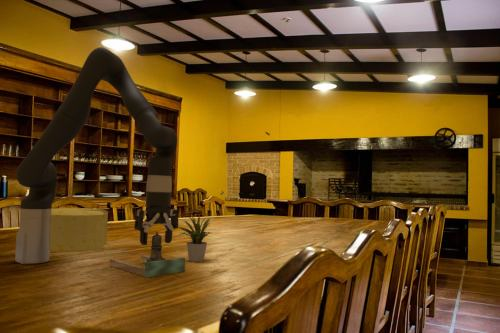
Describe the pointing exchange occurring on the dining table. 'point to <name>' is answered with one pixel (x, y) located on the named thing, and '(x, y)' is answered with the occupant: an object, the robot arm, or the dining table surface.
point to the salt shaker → (156, 249)
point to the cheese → (78, 229)
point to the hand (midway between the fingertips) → (156, 243)
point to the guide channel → (151, 266)
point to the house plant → (196, 240)
